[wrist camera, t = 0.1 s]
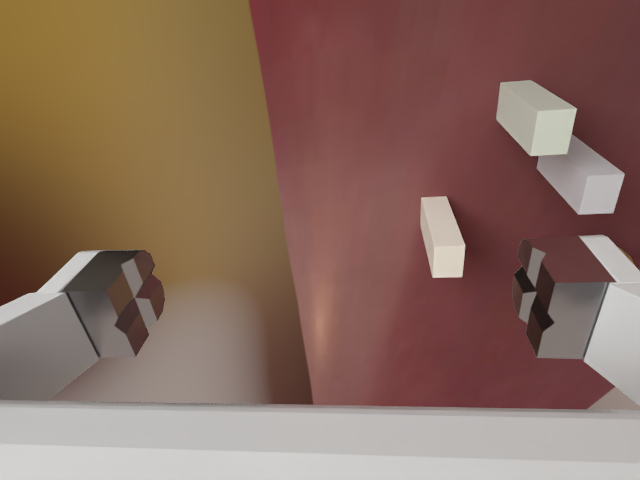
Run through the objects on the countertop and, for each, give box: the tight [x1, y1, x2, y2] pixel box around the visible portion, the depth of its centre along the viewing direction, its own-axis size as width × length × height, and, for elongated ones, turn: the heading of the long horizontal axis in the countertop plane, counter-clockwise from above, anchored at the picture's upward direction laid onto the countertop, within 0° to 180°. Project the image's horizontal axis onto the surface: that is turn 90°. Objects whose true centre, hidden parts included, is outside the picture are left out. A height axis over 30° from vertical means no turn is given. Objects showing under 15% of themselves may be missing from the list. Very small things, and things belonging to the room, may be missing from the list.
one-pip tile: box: [420, 196, 465, 278], centre depth 56 cm, size 5×4×13 cm
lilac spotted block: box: [537, 134, 625, 215], centre depth 50 cm, size 5×4×13 cm
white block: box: [496, 80, 577, 156], centre depth 47 cm, size 5×4×13 cm
